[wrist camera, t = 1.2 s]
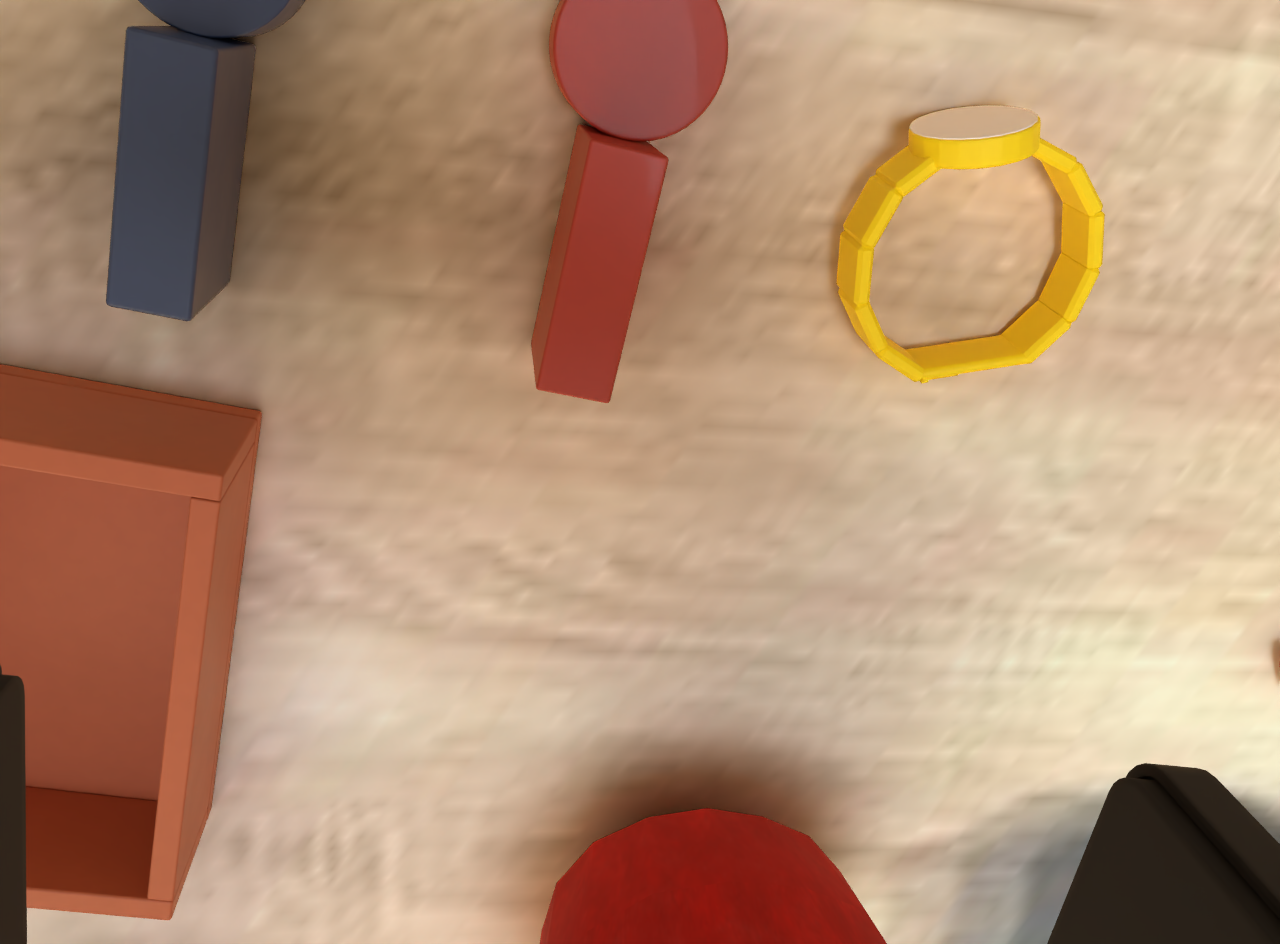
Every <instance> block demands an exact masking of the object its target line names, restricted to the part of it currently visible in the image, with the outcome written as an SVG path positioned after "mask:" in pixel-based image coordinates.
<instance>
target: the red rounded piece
mask: <svg viewBox="0 0 1280 944" xmlns="http://www.w3.org/2000/svg"><path fill="white" fill-rule="evenodd" d="M540 944H887V943H886V942H885V940H884V939H883V937H882V935H881V934H880V932H879V931H878V929H877V928H876V926H875V925H874V923H873V922H872V920H871V918H870V917H869V915H868V914H867V912H866V911H865V909H864V908H863V906H862V905H861V903H860V901H859V900H858V898H857V897H856V895H855V894H854V892H853V891H852V889H851V888H850V886H849V885H848V883H847V881H846V880H845V878H844V877H843V875H842V874H841V872H840V871H839V869H838V868H837V867H836V866H835V865H834V864H833V863H832V861H831V860H830V859H829V858H828V857H827V856H826V855H825V854H824V852H823V851H822V850H821V849H820V848H819V847H818V846H817V844H816V843H815V842H814V841H813V840H812V839H811V838H810V837H809V836H808V835H805V834H803V833H801V832H798V831H796V830H793V829H791V828H789V827H786V826H784V825H781V824H779V823H777V822H774V821H772V820H770V819H767V818H765V817H762V816H756V815H749V814H743V813H736V812H730V811H723V810H717V809H710V808H705V809H698V810H692V811H685V812H679V813H672V814H666V815H659V816H653V817H647V818H645V819H643V820H641V821H639V822H636V823H634V824H632V825H630V826H628V827H626V828H623V829H621V830H619V831H617V832H615V833H612V834H610V835H608V836H606V837H604V838H601V839H599V840H597V841H595V842H593V843H592V844H591V846H590V847H589V848H588V849H587V850H586V851H585V852H584V853H583V854H582V856H581V857H580V858H579V859H578V860H577V861H576V862H575V863H574V864H573V865H572V867H571V868H570V869H569V870H568V871H567V872H566V873H565V874H564V875H563V877H562V878H561V879H560V880H559V881H558V882H557V883H556V886H555V890H554V893H553V896H552V899H551V902H550V906H549V909H548V912H547V915H546V918H545V922H544V925H543V928H542V932H541V940H540Z"/></svg>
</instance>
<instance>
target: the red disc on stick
mask: <svg viewBox="0 0 1280 944" xmlns="http://www.w3.org/2000/svg"><path fill="white" fill-rule="evenodd" d="M549 54H550V62H551V67H552V71H553V74H554V77H555V80H556V82H557V85H558V87H559V89H560V91H561V92H562V94H563V96H564V97H565V99H566V100H567V101H568V103H569V104H570V105H571V106H572V107H573V109H574V110H575V111H576V112H577V113H578V114H579V115H580V116H581V117H582V118H583V119H584V120H585V121H587V122H588V123H589V124H590V125H592V126H593V127H590V126H586V125H582V124H580V125H578V126H577V131H576V135H575V140H574V145H573V149H572V154H571V159H570V164H569V168H568V173H567V178H566V182H565V187H564V192H563V196H562V201H561V206H560V210H559V215H558V220H557V224H556V229H555V234H554V239H553V243H552V248H551V253H550V257H549V262H548V267H547V271H546V276H545V281H544V285H543V290H542V295H541V299H540V304H539V309H538V313H537V318H536V323H535V328H534V332H533V337H532V342H531V346H532V355H533V364H534V373H535V381H536V388H537V389H538V390H542V391H547V392H552V393H557V394H563V395H568V396H573V397H578V398H583V399H588V400H593V401H599V402H604V403H609V401H610V399H611V395H612V391H613V387H614V382H615V378H616V374H617V370H618V366H619V362H620V358H621V354H622V350H623V345H624V341H625V337H626V333H627V329H628V325H629V321H630V317H631V313H632V309H633V304H634V300H635V296H636V292H637V288H638V284H639V280H640V276H641V272H642V267H643V263H644V259H645V255H646V251H647V247H648V243H649V239H650V235H651V231H652V226H653V222H654V218H655V214H656V210H657V206H658V202H659V198H660V194H661V189H662V185H663V181H664V177H665V173H666V169H667V165H668V161H669V160H668V157H666V156H665V155H664V154H662V153H661V152H660V151H658V150H657V149H656V148H655V147H653V146H652V145H651V144H649V143H648V142H647V141H653V140H658V139H662V138H665V137H668V136H671V135H673V134H676V133H677V132H679V131H681V130H683V129H685V128H686V127H687V126H689V125H690V124H691V123H693V122H694V121H695V120H696V119H697V118H698V117H699V116H700V115H701V114H703V112H704V111H705V110H706V109H707V107H708V106H709V105H710V103H711V102H712V100H713V99H714V97H715V95H716V94H717V91H718V89H719V87H720V85H721V83H722V79H723V76H724V73H725V69H726V64H727V56H728V36H727V30H726V24H725V20H724V17H723V14H722V11H721V8H720V6H719V4H718V2H717V0H561V1H560V2H559V4H558V6H557V9H556V11H555V14H554V17H553V20H552V24H551V29H550V36H549ZM594 127H595V128H594Z"/></svg>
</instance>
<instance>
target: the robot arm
mask: <svg viewBox="0 0 1280 944" xmlns="http://www.w3.org/2000/svg"><path fill="white" fill-rule="evenodd" d="M0 944H27V903H26V773H25V691H24V684H23V681H22V679H21V678H20V677H19V676H14V675H4V674H2V668H1V665H0ZM1047 944H1280V844H1279V843H1278V842H1277V841H1276V840H1275V839H1274V838H1273V837H1272V836H1271V835H1270V834H1269V833H1268V832H1267V831H1266V829H1265V828H1264V827H1263V826H1262V825H1261V824H1260V823H1259V822H1258V821H1257V820H1256V819H1255V818H1254V817H1253V816H1252V815H1251V814H1250V813H1249V812H1248V811H1247V810H1246V809H1245V808H1244V807H1243V806H1242V805H1241V803H1240V802H1239V801H1238V800H1237V799H1236V798H1235V797H1234V796H1233V795H1232V794H1231V793H1230V792H1229V791H1228V790H1227V789H1226V788H1225V787H1224V786H1223V785H1222V784H1221V783H1220V782H1219V781H1218V780H1217V779H1216V778H1215V777H1214V776H1213V775H1211V774H1210V773H1209V772H1207V771H1206V770H1202V769H1198V768H1189V767H1179V766H1168V765H1158V764H1147V763H1145V764H1141V765H1137V766H1135V767H1134V768H1133V769H1132V770H1131V771H1129V773H1128V774H1127V776H1126V778H1122V779H1119V780H1117V781H1116V782H1115V783H1114V784H1113V786H1112V787H1111V789H1110V791H1109V793H1108V795H1107V798H1106V800H1105V803H1104V805H1103V808H1102V810H1101V813H1100V815H1099V818H1098V820H1097V823H1096V825H1095V828H1094V830H1093V832H1092V835H1091V837H1090V840H1089V842H1088V845H1087V847H1086V850H1085V852H1084V855H1083V857H1082V860H1081V862H1080V864H1079V867H1078V869H1077V872H1076V874H1075V877H1074V879H1073V882H1072V884H1071V887H1070V889H1069V892H1068V894H1067V896H1066V899H1065V901H1064V904H1063V906H1062V909H1061V911H1060V914H1059V916H1058V919H1057V921H1056V924H1055V926H1054V929H1053V931H1052V933H1051V936H1050V938H1049V941H1048V943H1047Z"/></svg>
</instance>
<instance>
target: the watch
mask: <svg viewBox="0 0 1280 944" xmlns="http://www.w3.org/2000/svg"><path fill="white" fill-rule="evenodd" d="M1030 156H1033V157H1035V158H1037V159H1039V160H1040V161H1041V162H1042V164H1043V166H1044V168H1045V170H1046V172H1047V174H1048V175H1049V177H1050V179H1051V181H1052V183H1053V185H1054V187H1055V189H1056V191H1057V193H1058V194H1059V196H1060V198H1061V200H1062V202H1063V206H1062V240H1061V252H1062V253H1061V254H1060V256H1059V258H1058V260H1057V262H1056V264H1055V266H1054V268H1053V270H1052V272H1051V274H1050V276H1049V278H1048V281H1047V283H1046V285H1045V287H1044V289H1043V291H1042V293H1041V295H1040V297H1039V300H1038V301H1036V302H1035V303H1034V304H1033V305H1032V306H1031V307H1030V308H1029V309H1028V310H1027V311H1026V312H1025V313H1023V314H1022V315H1021V316H1020V317H1019V318H1018V319H1017V320H1016V321H1015V322H1014V323H1013V324H1012V325H1011V326H1009V327H1008V328H1007V329H1006V330H1005V331H1004V332H1003V333H1002V334H1001V335H998V336H991V337H985V338H978V339H972V340H965V341H958V342H952V343H945V344H939V345H932V346H925V347H919V348H912V349H906V350H905V349H903V348H902V347H900V346H899V345H897V344H896V343H894V342H893V341H892V340H890V339H889V338H887V337H886V336H884V334H883V332H882V330H881V328H880V325H879V323H878V321H877V318H876V316H875V314H874V311H873V309H872V307H871V305H870V302H869V297H870V287H871V276H872V265H873V255H874V247H875V246H876V244H877V242H878V241H879V239H880V237H881V235H882V234H883V232H884V230H885V228H886V227H887V225H888V223H889V221H890V220H891V218H892V216H893V215H894V213H895V211H896V209H897V208H898V206H899V204H900V202H901V201H902V199H903V196H905V195H907V194H908V193H909V192H911V191H912V190H913V189H915V188H916V187H917V186H919V185H920V184H921V183H923V182H924V181H925V180H927V179H928V178H929V177H931V176H932V175H933V174H934V173H936V172H937V171H938V170H940V169H941V168H942V169H980V168H989V167H996V166H1002V165H1006V164H1011V163H1015V162H1018V161H1021V160H1023V159H1026V158H1028V157H1030ZM1102 207H1103V205H1102V203H1101V201H1100V199H1099V197H1098V195H1097V193H1096V191H1095V189H1094V187H1093V185H1092V183H1091V181H1090V179H1089V177H1088V175H1087V173H1086V171H1085V169H1084V167H1083V165H1082V164H1081V163H1079V162H1077V160H1076V157H1074V156H1072V155H1070V154H1068V153H1067V152H1065V151H1063V150H1061V149H1059V148H1058V147H1056V146H1054V145H1052V144H1050V143H1049V142H1047V141H1045V140H1043V139H1041V138H1040V117H1038V115H1037V114H1036V113H1034V112H1033V111H1031V110H1027V109H1023V108H1020V107H1011V106H994V105H983V106H967V107H959V108H952V109H946V110H942V111H937V112H933V113H929V114H927V115H924V116H921V117H919V118H917V119H916V120H914V121H913V122H911V124H910V127H909V145H908V146H906V147H905V148H904V149H902V150H901V151H900V152H899V153H897V154H896V155H895V156H893V157H892V158H891V159H889V160H888V161H887V162H886V163H884V164H883V165H882V166H880V167H879V168H878V169H877V170H876V174H875V175H874V176H871V177H870V178H869V180H868V182H867V183H866V185H865V187H864V189H863V190H862V192H861V194H860V196H859V198H858V199H857V201H856V203H855V205H854V207H853V208H852V210H851V212H850V214H849V215H848V217H847V219H846V221H845V223H844V224H843V227H844V231H843V232H842V233H841V234H840V244H839V257H838V270H837V283H836V284H837V285H838V286H839V287H840V288H839V290H838V294H839V296H840V298H841V300H842V303H843V305H844V307H845V309H846V312H847V314H848V316H849V318H850V320H851V323H852V325H853V327H854V329H855V331H856V333H857V334H858V335H859V336H860V338H861V339H862V340H863V341H864V342H865V343H866V345H867V346H868V347H869V348H870V349H871V350H872V351H873V352H874V353H875V355H876V356H877V357H878V358H880V359H881V360H883V361H884V362H886V363H887V364H889V365H890V366H892V367H893V368H895V369H896V370H898V371H899V372H901V373H902V374H904V375H905V376H906V377H908V378H909V379H911V380H912V381H914V382H917V381H920V382H921V383H926V382H928V380H931V379H937V378H944V377H950V376H957V375H958V374H962V373H968V372H975V371H981V370H988V369H994V368H1001V367H1007V366H1014V365H1020V364H1029V363H1032V362H1033V361H1034V360H1035V359H1036V358H1037V357H1039V356H1040V355H1041V354H1042V353H1043V352H1044V351H1045V350H1046V349H1047V348H1048V347H1050V346H1051V345H1052V344H1053V343H1054V342H1055V341H1056V340H1057V339H1058V338H1059V337H1061V336H1062V335H1063V334H1064V333H1065V332H1066V331H1067V330H1068V329H1069V328H1070V326H1071V323H1072V322H1073V321H1075V320H1076V319H1077V317H1078V315H1079V313H1080V311H1081V309H1082V307H1083V305H1084V303H1085V301H1086V299H1087V297H1088V295H1089V293H1090V291H1091V289H1092V287H1093V285H1094V283H1095V281H1096V279H1097V277H1098V275H1099V273H1100V272H1099V269H1098V268H1099V267H1100V266H1101V265H1102V257H1103V237H1104V217H1105V214H1104V213H1103V212H1102V211H1101V210H1102Z"/></svg>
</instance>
